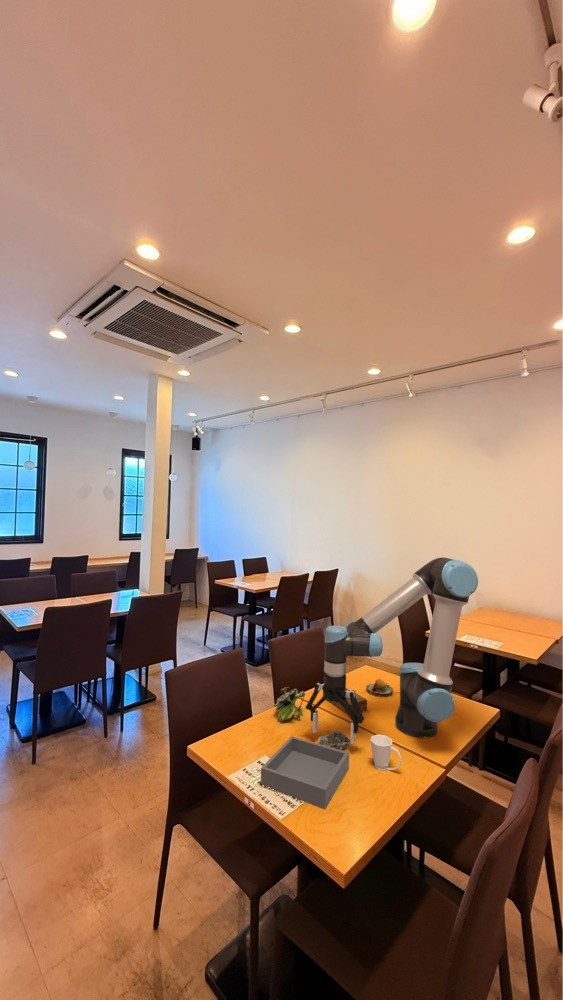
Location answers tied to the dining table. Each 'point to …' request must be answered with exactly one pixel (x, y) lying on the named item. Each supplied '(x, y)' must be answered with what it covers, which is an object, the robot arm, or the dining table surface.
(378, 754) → the cup
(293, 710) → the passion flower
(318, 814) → the dining table surface
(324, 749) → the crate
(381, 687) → the brown food dish
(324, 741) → the egg carton
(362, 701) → the carton
